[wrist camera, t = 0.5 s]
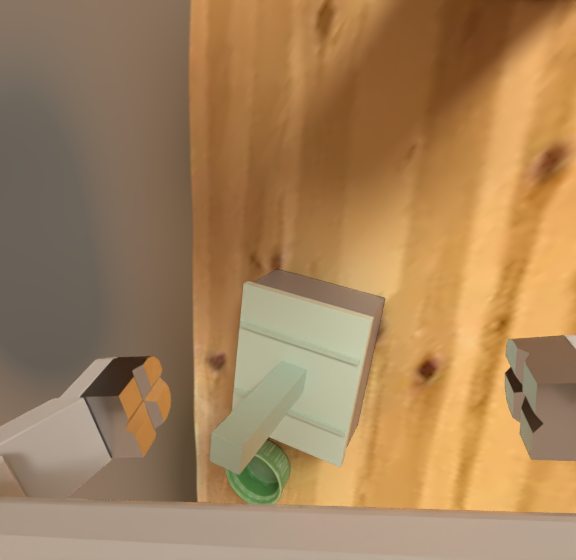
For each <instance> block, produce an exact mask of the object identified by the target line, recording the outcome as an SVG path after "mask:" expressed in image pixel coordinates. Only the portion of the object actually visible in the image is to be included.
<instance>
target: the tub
mask: <svg viewBox="0 0 576 560" xmlns="http://www.w3.org/2000/svg"><path fill="white" fill-rule="evenodd" d="M253 283H257V284H260V285H264V286H267V287H271V288H274V289H278V290H281V291H285V292H288V293H292V294H295V295H299V296H302V297H306V298H309V299H313V300H316V301H319V302H323V303H326V304H330V305H333V306H337V307H340V308H344V309H347V310H351V311H354V312H358V313H361V314H365V315H368V316H372V317H374V319H373V324H372V329H371V333H370V338H369V343H368V348H367V352H366V357H365V362H364V366H363V371H362V376H361V381H360V385H359V390H358V395H357V399H356V404H355V409H354V414H353V418H352V423H351V428H350V432H349V437H348V442H347V446H348V444H349V442H350V440H351V438H352V436H353V434H354V432H355V430H356V428H357V425H358V421H359V417H360V412H361V408H362V403H363V399H364V394H365V389H366V385H367V380H368V376H369V371H370V367H371V362H372V357H373V353H374V348H375V344H376V339H377V334H378V330H379V325H380V321H381V316H382V312H383V307H384V302H385V298H384V297H380V296H376V295H373V294H369V293H365V292H361V291H358V290H354V289H350V288H346V287H343V286H339V285H335V284H332V283H328V282H324V281H320V280H317V279H313V278H309V277H305V276H302V275H298V274H294V273H291V272H287V271H283V270H279V269H276V270H274V271H273V272H271V273H269V274H267V275H265V276H264V277H262V278H260V279H258V280H257V281H255V282H253ZM346 448H347V447H346Z"/></svg>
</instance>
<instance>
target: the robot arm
mask: <svg viewBox="0 0 576 560" xmlns="http://www.w3.org/2000/svg"><path fill="white" fill-rule="evenodd" d="M506 357H507V359H508V361H509V364H510V366H511V367H510V368H509V369H508V370H507V372H506V373H505V392H506V399H507V403H508V406H509V410H510V412H511V414H512V417H513V418H514V419H516V420H517V421H519V422H520V436H521V438H522V440H523V442H524V445H525V447H526V449H527V452H528V454H529V456H530V458H531V460H558V461H576V334H570V335H561V336H548V337H533V338H518V339H508V342H507V345H506ZM161 373H162V368H161V365H160V363H159V360H158V359H157V358H155V357H154V356H139V357H118V358H117V357H108V358H100V359H96V360H95V361H94V362H93V363H92V364H91V365H90V366H89V367H88V368H87V369H86V370H85V371H84V373H82V375H81V376H80V377H79V378H78V379H77V380H76V381H75V382H74V383H73V384H72V385H71V386H70V387H69V388H68V389H67V390H66V391H65V392H64V393H63V394H62V396H61V397H60V398H54V399H52V400H50V401H48V402H46V403H44V404H42V405H40V406H38V407H36V408H34V409H33V410H31V411H29V412H27V413H25V414H23V415H21V416H19V417H18V418H16V419H14V420H12V421H10V422H8V423H6V424H4V425H3V426H0V560H576V513H540V512H506V511H473V510H441V509H409V508H376V507H344V506H310V505H275V504H239V503H203V502H168V501H167V502H166V501H135V500H134V501H133V500H101V499H100V500H99V499H67V497H68V496H69V495H71V494H72V493H73V492H74V491H75V490H77V489H78V488H79V487H80V486H81V485H83V484H84V483H85V482H86V481H87V480H88V479H90V478H91V477H92V476H93V475H94V474H96V473H97V472H98V471H99V470H100V469H101V468H103V467H104V466H105V465H106V464H107V463H109V462H110V461H111V458H140V457H144V456H145V454H146V453H147V451H148V449H149V448H150V446H151V444H152V442H153V440H154V439H155V437H156V433H155V428H157V427H158V426H160V425H161V424H162V423H164V421H165V420H166V418H167V416H168V414H169V411H170V405H171V396H170V390H169V387H168V385H167V384H166V383H165V382H164V381H163V380H162V379H161V378H159V377H160V375H161Z"/></svg>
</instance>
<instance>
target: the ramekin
mask: <svg viewBox="0 0 576 560" xmlns="http://www.w3.org/2000/svg"><path fill="white" fill-rule="evenodd" d="M289 474H290V465H289V461H288V459H287V457H286V455H285V453H284V452H283V451H282V449H281V448H280V447H278V446H277V445H276V444H275V443H273V442H271V441H269V440H266V441H265V442H264V444H263V445H262V446H261V448H260V449H259V450H258V452H257V453H256V454H255V455H254V457H253V458H252V459H251V461H250V462H249V463H248V464H247V466H246V467H245V468H244V470H243V471H242V472H241V473H240V475H238V474H236V473H234V472H232V471H230V470H228V469H226V476H227V479H228V482H229V484H230V485H231V487H232V489H233V490H234V491H235V493H236V494H237V495H238V496H240V497H241V498H242V499H243V500H245V501H246V502H248V503H250V504H275V503H276V502H277V501H278V500H279V499H280V497H281V494H282V491H283V488H284V486H285V484H286V482H287V480H288V477H289Z"/></svg>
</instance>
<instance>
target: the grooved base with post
mask: <svg viewBox="0 0 576 560" xmlns="http://www.w3.org/2000/svg"><path fill="white" fill-rule="evenodd" d="M373 319H374V317H372V316H368V315H365V314H361V313H358V312H354V311H351V310H347V309H344V308H340V307H337V306H333V305H330V304H326V303H323V302H319V301H316V300H313V299H309V298H306V297H302V296H299V295H295V294H292V293H288V292H285V291H281V290H278V289H274V288H271V287H267V286H264V285H260V284H257V283H253V282H250V281H247V282H245V283H244V284H243V295H242V306H241V316H240V327H239V338H238V348H237V359H236V370H235V380H234V391H233V402H232V412H231V413H230V414H229V416H228V417H227V418H226V419H225V420H224V421H223V422H222V423H221V424H220V425H219V426H218V427H217V428H216V429H215V430H214V431H213V432H212V433H211V446H210V459H209V461H211V462H213V463H215V464H217V465H219V466H221V467H223V468H225V469H228V470H230V471H232V472H234V473H236V474H238V475H240V473H241V472H242V471H243V470H244V468H245V467H246V466H247V464H248V463H249V462H250V461H251V459H252V458H253V457H254V455H255V454H256V453H257V452H258V450H259V449H260V448H261V446H262V445H263V444H264V442H265V441H266V440H267V439H268V437H270V438H272V439H275V440H277V441H279V442H282V443H284V444H286V445H289V446H291V447H293V448H296V449H298V450H300V451H303V452H305V453H307V454H310V455H312V456H315V457H317V458H319V459H322V460H324V461H326V462H329V463H331V464H333V465H336V466H338V467H340V468H341V466H342V464H343V461H344V456H345V451H346V447H347V442H348V437H349V432H350V428H351V423H352V418H353V414H354V409H355V404H356V399H357V395H358V390H359V385H360V381H361V376H362V371H363V366H364V362H365V357H366V352H367V348H368V343H369V338H370V333H371V329H372V324H373Z"/></svg>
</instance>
